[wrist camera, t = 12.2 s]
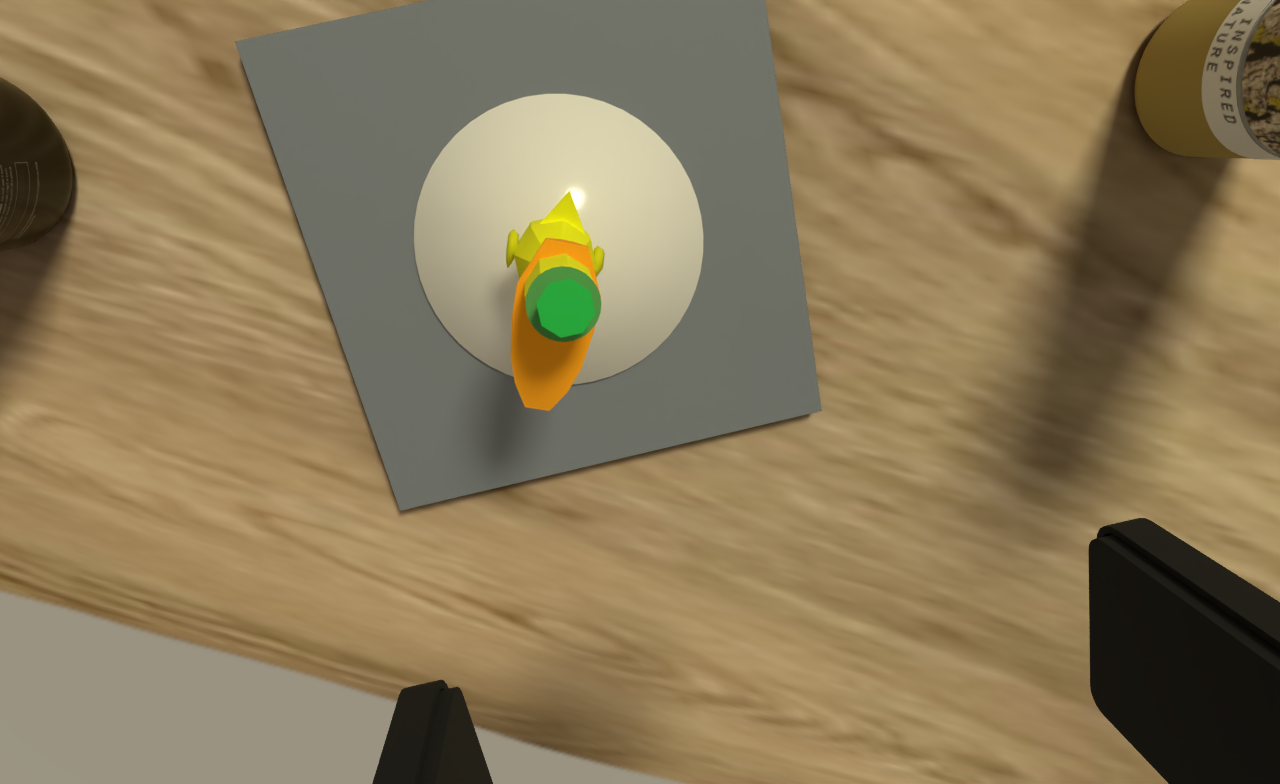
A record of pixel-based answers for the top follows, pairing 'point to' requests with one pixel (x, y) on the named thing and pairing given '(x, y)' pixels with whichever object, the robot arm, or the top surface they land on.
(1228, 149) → the paper tube
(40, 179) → the supplement bottle
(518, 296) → the toy figure
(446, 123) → the slate tile
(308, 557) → the top surface
